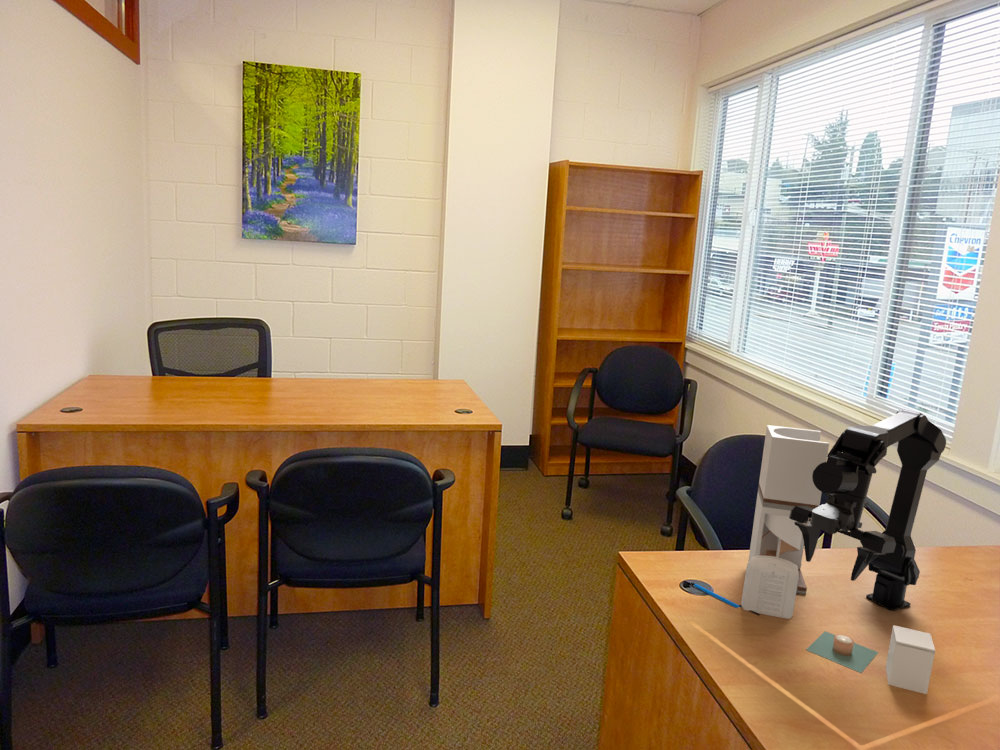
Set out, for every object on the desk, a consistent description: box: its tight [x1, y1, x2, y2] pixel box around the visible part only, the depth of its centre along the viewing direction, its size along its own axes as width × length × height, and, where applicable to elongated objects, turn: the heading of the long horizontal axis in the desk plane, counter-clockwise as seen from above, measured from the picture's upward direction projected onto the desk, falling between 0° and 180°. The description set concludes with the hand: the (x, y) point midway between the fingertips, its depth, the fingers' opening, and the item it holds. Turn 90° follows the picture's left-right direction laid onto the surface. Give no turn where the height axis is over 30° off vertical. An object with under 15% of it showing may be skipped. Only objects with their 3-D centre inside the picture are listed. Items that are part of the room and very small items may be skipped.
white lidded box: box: [885, 625, 936, 695], centre depth 133 cm, size 6×6×9 cm
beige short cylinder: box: [832, 634, 855, 656], centre depth 141 cm, size 3×3×2 cm
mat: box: [805, 630, 879, 674], centre depth 142 cm, size 10×10×1 cm
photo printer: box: [740, 556, 799, 619], centre depth 155 cm, size 10×4×12 cm, turn 72°
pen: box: [690, 582, 761, 617], centre depth 160 cm, size 1×19×1 cm, turn 38°
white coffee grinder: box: [747, 424, 830, 595], centre depth 167 cm, size 11×11×35 cm
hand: (829, 570), depth 145 cm, fingers open, 9 cm apart
